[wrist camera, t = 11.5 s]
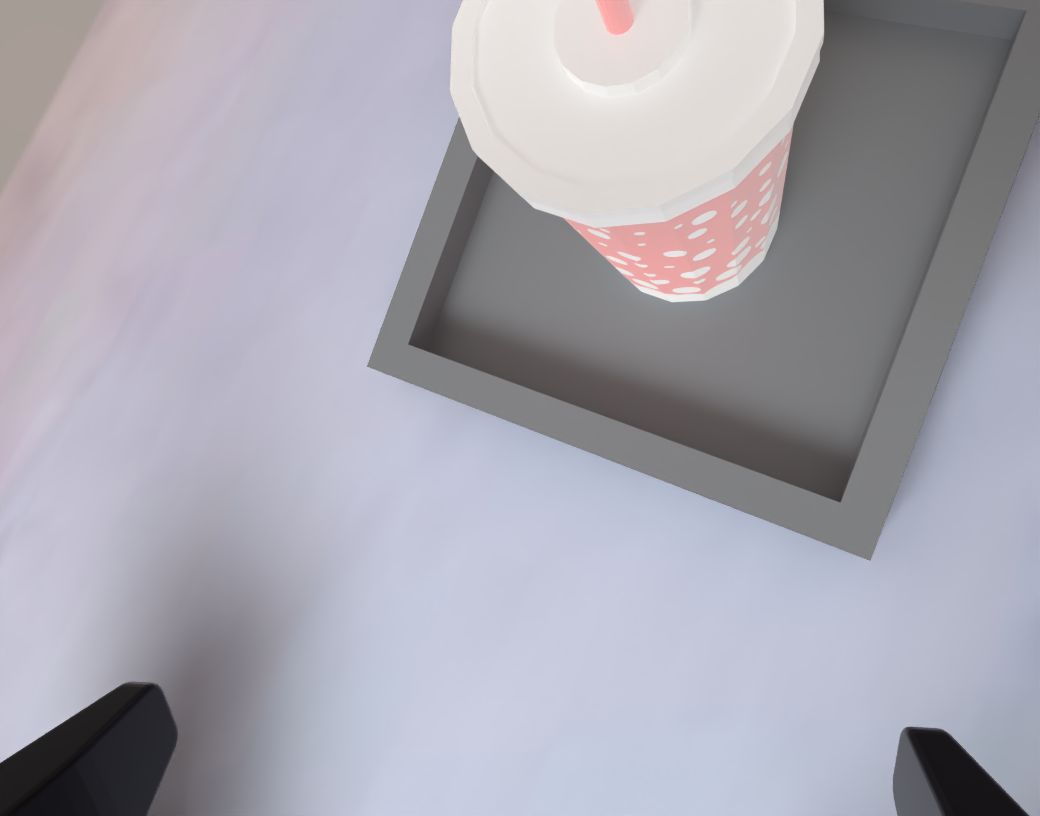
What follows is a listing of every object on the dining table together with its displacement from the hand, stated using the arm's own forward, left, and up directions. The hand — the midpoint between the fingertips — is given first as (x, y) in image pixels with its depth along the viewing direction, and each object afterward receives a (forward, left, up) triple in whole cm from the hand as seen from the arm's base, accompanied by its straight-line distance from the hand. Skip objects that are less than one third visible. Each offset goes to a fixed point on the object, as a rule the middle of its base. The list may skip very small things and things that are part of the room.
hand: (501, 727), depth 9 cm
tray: (+3, -10, -12) cm, 16 cm away
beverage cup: (+3, -10, -12) cm, 15 cm away
